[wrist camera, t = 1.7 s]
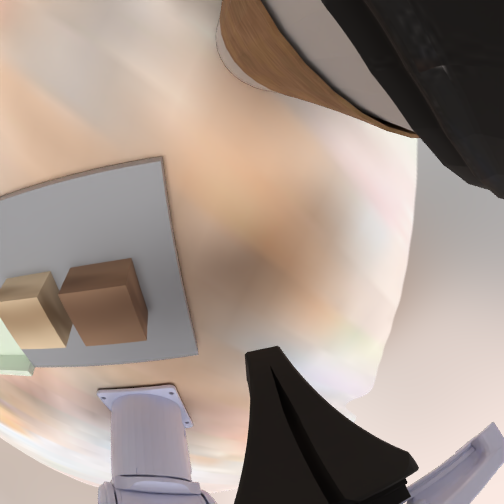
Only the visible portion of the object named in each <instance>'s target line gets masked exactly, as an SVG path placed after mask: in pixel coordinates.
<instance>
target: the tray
mask: <svg viewBox="0 0 504 504" xmlns="http://www.w3.org/2000/svg"><path fill="white" fill-rule="evenodd" d="M34 368H35V367H34V366H33V364H32V363H31V362H30V360H29V359H28V358H27V356H26V355H25V354H24V352H23V351H22V350H21V348H20V347H19V345H18V344H17V343H16V341H15V340H14V338H13V337H12V335H11V334H10V332H9V331H8V329H7V328H6V326H5V325H4V323H3V321H2V320H1V318H0V374H4V375H20V376H32V375H33V371H34Z"/></svg>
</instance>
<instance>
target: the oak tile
mask: <svg viewBox="0 0 504 504" xmlns="http://www.w3.org/2000/svg"><path fill="white" fill-rule="evenodd" d="M58 293H59V289H58V287H57V285H56V283H55V280H54V278H53V276H52V273H51V271H48V272H42V273H36V274H30V275H24V276H19V277H13V278H7V279H6V280H5V282H4V283H3V285H2V287H1V288H0V318H1V320H2V321H3V323H4V324H5V326H6V328H7V329H8V331H9V332H10V334H11V335H12V337H13V338H14V340H15V341H16V342H17V344H18V345H19V347H20V348H21V349H50V348H66V346H67V342H68V339H69V335H70V332H71V328H72V325H73V323H72V321H71V319H70V317H69V316H68V314H67V312H66V310H65V308H64V306H63V304H62V302H61V300H60V298H59V296H58Z"/></svg>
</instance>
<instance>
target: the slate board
mask: <svg viewBox="0 0 504 504" xmlns="http://www.w3.org/2000/svg"><path fill="white" fill-rule="evenodd" d="M127 258H132V261H133V265H134V268H135V272H136V275H137V278H138V282H139V285H140V288H141V291H142V294H143V297H144V300H145V303H146V306H147V309H148V325H147V341H139V342H130V343H120V344H110V345H98V346H85V344H84V342H83V341H82V339H81V337H80V335H79V334H78V332H77V330H76V328H75V327H74V325H72V328H71V332H70V335H69V339H68V342H67V346H66V348H50V349H21V350H22V351H23V352H24V354H25V355H26V356H27V358H28V359H29V360H30V362H31V363H32V364H33V366H34V367H78V366H99V365H113V364H126V363H137V362H146V361H155V360H164V359H172V358H179V357H186V356H193V355H198V348H197V342H196V338H195V334H194V330H193V325H192V321H191V317H190V313H189V308H188V304H187V299H186V295H185V290H184V286H183V281H182V276H181V271H180V266H179V261H178V256H177V250H176V245H175V239H174V233H173V228H172V222H171V216H170V209H169V203H168V196H167V189H166V182H165V174H164V167H163V158H162V156H161V157H155V158H149V159H143V160H137V161H132V162H127V163H121V164H117V165H112V166H107V167H102V168H98V169H93V170H89V171H85V172H81V173H77V174H73V175H69V176H65V177H62V178H58V179H54V180H51V181H47V182H44V183H41V184H37V185H34V186H31V187H28V188H24V189H21V190H18V191H15V192H12V193H10V194H7V195H4V196H1V197H0V288H1V287H2V285H3V283H4V282H5V280H6V279H7V278H13V277H19V276H24V275H30V274H36V273H42V272H48V271H51V273H52V276H53V278H54V280H55V283H56V285H57V287H58V289H59V291H60V289H61V286H62V284H63V282H64V280H65V278H66V276H67V273H68V271H69V269H70V268H72V267H78V266H84V265H90V264H96V263H102V262H108V261H115V260H121V259H127ZM4 325H5V324H4ZM16 343H17V342H16Z"/></svg>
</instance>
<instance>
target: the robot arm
mask: <svg viewBox="0 0 504 504" xmlns="http://www.w3.org/2000/svg"><path fill="white" fill-rule="evenodd" d="M245 363H246V376H247V382H248V387H249V392H250V418H249V430H248V439H247V446H246V453H245V459H244V464H243V469H242V474H241V478H240V483H239V487H238V491H237V495H236V498H235V502H234V504H403V503H405V502H406V501H407V504H470V503H471V501H472V500H473V499H474V498H475V497H476V496H477V495H478V494H479V492H480V491H481V490H482V489H483V488H484V486H485V485H486V484H487V483H488V481H489V480H490V479H491V477H492V476H493V475H494V474H495V473H496V471H497V470H498V469H499V468H500V467H501V465H502V464H503V463H504V437H503V436H502V434H501V433H500V431H499V430H498V428H497V426H496V425H495V423H494V422H492V423H491V424H490V425H489V426H487V427H486V428H485V429H484V430H483V431H482V432H481V433H479V434H478V435H477V436H476V437H474V438H473V439H471V440H470V441H469V442H467V443H466V444H465V445H464V446H463V447H461V448H460V449H459V450H458V451H456V453H455V454H454V455H453V456H452V457H450V458H449V459H448V460H446V461H445V462H444V463H442V464H441V465H440V466H438V467H437V468H435V469H434V470H433V471H431V472H430V473H428V474H427V475H425V476H424V477H422V478H421V479H419V480H418V481H416V482H414V483H413V484H411V485H410V486H408V487H406V486H405V484H407V481H406V479H405V478H406V477H408V476H410V475H411V474H413V473H414V472H416V471H417V470H418V468H419V467H418V465H417V464H416V462H415V460H414V459H413V458H412V456H411V455H410V454H409V453H408V452H407V451H404V450H402V449H400V448H397V447H395V446H393V445H391V444H389V443H387V442H384V441H383V440H381V439H379V438H377V437H375V436H374V435H372V434H370V433H369V432H367V431H366V430H364V429H362V428H361V427H359V426H357V425H356V424H355V423H353V422H352V421H350V420H349V419H348V418H346V417H345V416H344V415H342V414H341V413H340V412H339V411H337V410H336V409H335V408H334V407H333V406H331V405H330V404H329V403H328V402H327V401H326V400H325V399H324V398H323V397H322V396H320V395H319V394H318V393H317V392H316V391H315V390H314V389H313V388H312V386H311V385H310V384H309V383H308V382H307V381H306V380H305V379H304V378H303V377H302V376H301V374H300V373H299V372H298V371H297V370H296V369H295V367H294V366H293V365H292V364H291V362H290V361H289V360H288V358H287V357H286V356H285V354H284V353H283V352H282V350H281V349H280V347H278V346H274V347H270V348H265V349H260V350H256V351H251V352H247V353H246V354H245ZM97 396H98V397H99V398H100V399H101V400H102V402H103V403H104V404H105V405H106V406H107V407H108V409H109V410H110V411H111V467H112V480H111V482H104V483H103V484H102V485H100V486H99V489H98V504H217V503H216V501H215V500H214V499H213V498H212V497H211V496H210V495H209V494H208V493H207V492H206V491H204V490H200V485H199V483H198V482H192V480H191V472H192V468H191V462H190V457H189V451H188V445H187V438H186V431H185V428H189V427H192V426H193V422H192V420H191V419H190V417H189V415H188V413H187V411H186V409H185V407H184V404H183V402H182V400H181V398H180V396H179V394H178V392H177V390H176V388H175V386H173V385H161V386H152V387H140V388H127V389H109V390H98V391H97Z"/></svg>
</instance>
